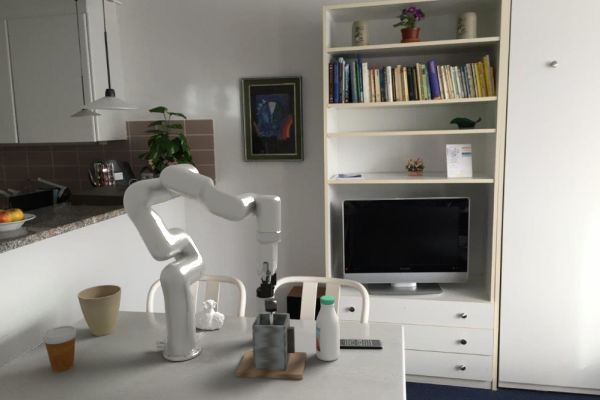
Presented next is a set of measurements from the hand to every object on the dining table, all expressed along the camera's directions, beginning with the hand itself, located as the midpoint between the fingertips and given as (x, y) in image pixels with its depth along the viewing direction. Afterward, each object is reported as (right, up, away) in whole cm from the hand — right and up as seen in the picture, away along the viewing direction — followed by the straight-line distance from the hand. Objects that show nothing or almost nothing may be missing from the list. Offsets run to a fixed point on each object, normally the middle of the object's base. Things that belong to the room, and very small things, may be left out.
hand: (268, 290), depth 140 cm
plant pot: (-64, -22, +31) cm, 75 cm away
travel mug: (-2, -22, +22) cm, 31 cm away
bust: (-25, -21, +34) cm, 47 cm away
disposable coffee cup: (-66, -26, +5) cm, 71 cm away
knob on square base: (+1, -20, +3) cm, 20 cm away
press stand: (+1, -25, +3) cm, 25 cm away
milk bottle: (+19, -24, +9) cm, 32 cm away
